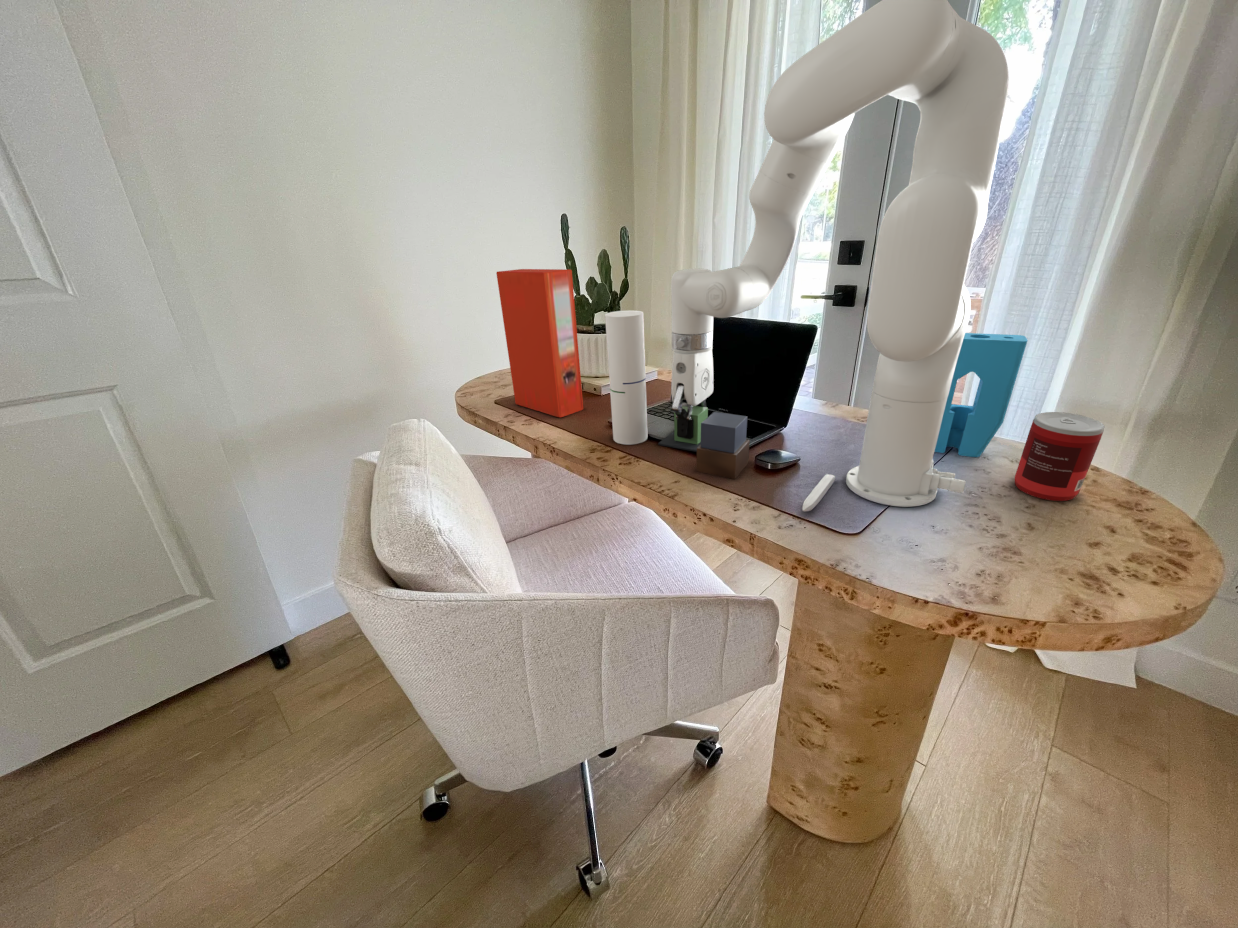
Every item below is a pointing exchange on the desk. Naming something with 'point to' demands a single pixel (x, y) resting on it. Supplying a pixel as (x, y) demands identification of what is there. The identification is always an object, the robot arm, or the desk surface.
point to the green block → (698, 417)
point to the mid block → (723, 432)
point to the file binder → (542, 339)
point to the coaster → (678, 443)
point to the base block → (723, 461)
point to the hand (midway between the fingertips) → (691, 431)
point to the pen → (818, 492)
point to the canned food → (1057, 455)
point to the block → (981, 391)
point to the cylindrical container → (627, 375)
